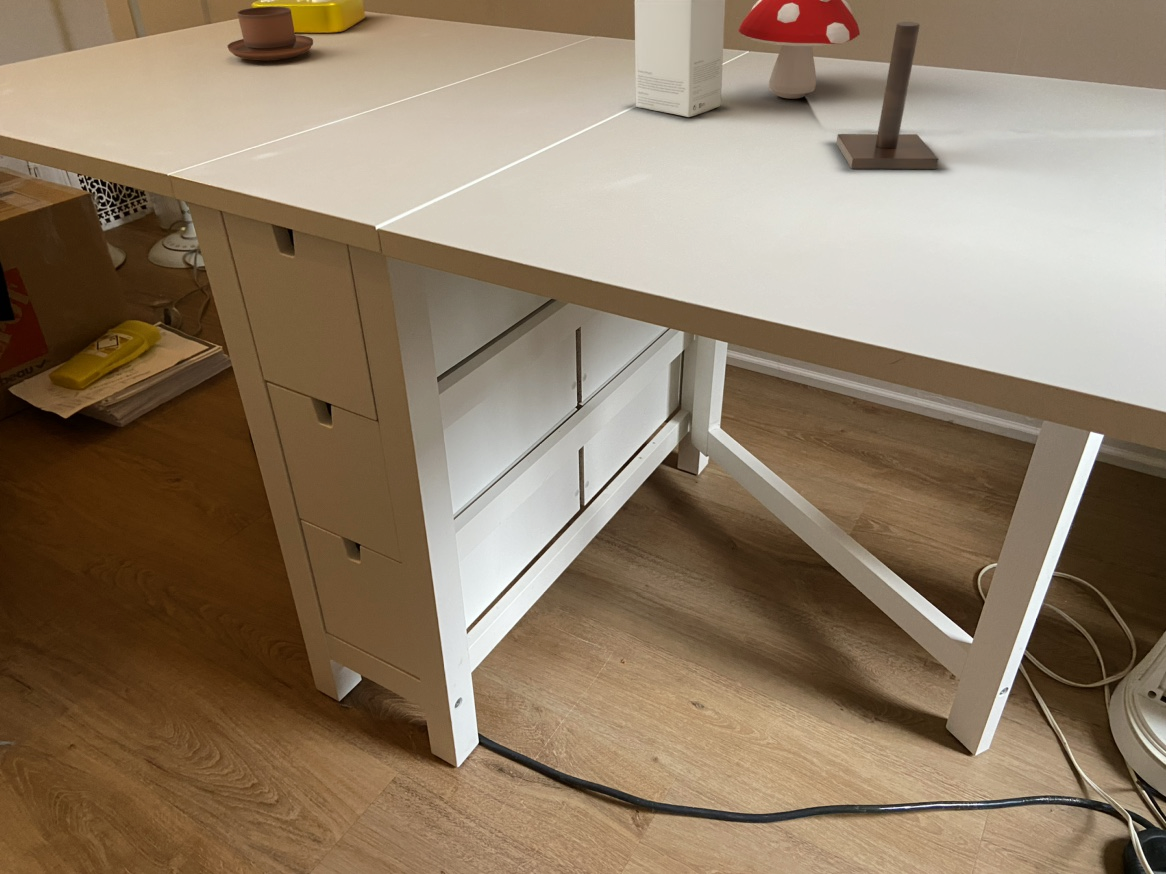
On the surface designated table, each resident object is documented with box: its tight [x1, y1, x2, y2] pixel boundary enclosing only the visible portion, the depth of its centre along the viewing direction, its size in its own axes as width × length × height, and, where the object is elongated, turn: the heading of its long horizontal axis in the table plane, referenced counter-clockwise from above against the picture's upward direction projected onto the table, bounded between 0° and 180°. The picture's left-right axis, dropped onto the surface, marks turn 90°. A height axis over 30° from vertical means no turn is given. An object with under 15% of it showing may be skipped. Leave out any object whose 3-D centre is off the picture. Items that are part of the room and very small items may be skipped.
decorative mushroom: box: [737, 0, 861, 100], centre depth 101 cm, size 14×14×15 cm
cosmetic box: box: [634, 0, 726, 118], centre depth 98 cm, size 8×7×16 cm
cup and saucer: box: [227, 7, 314, 62], centre depth 127 cm, size 12×12×6 cm
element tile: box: [251, 0, 366, 34], centre depth 148 cm, size 15×15×5 cm
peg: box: [836, 21, 939, 170], centre depth 83 cm, size 8×8×12 cm
